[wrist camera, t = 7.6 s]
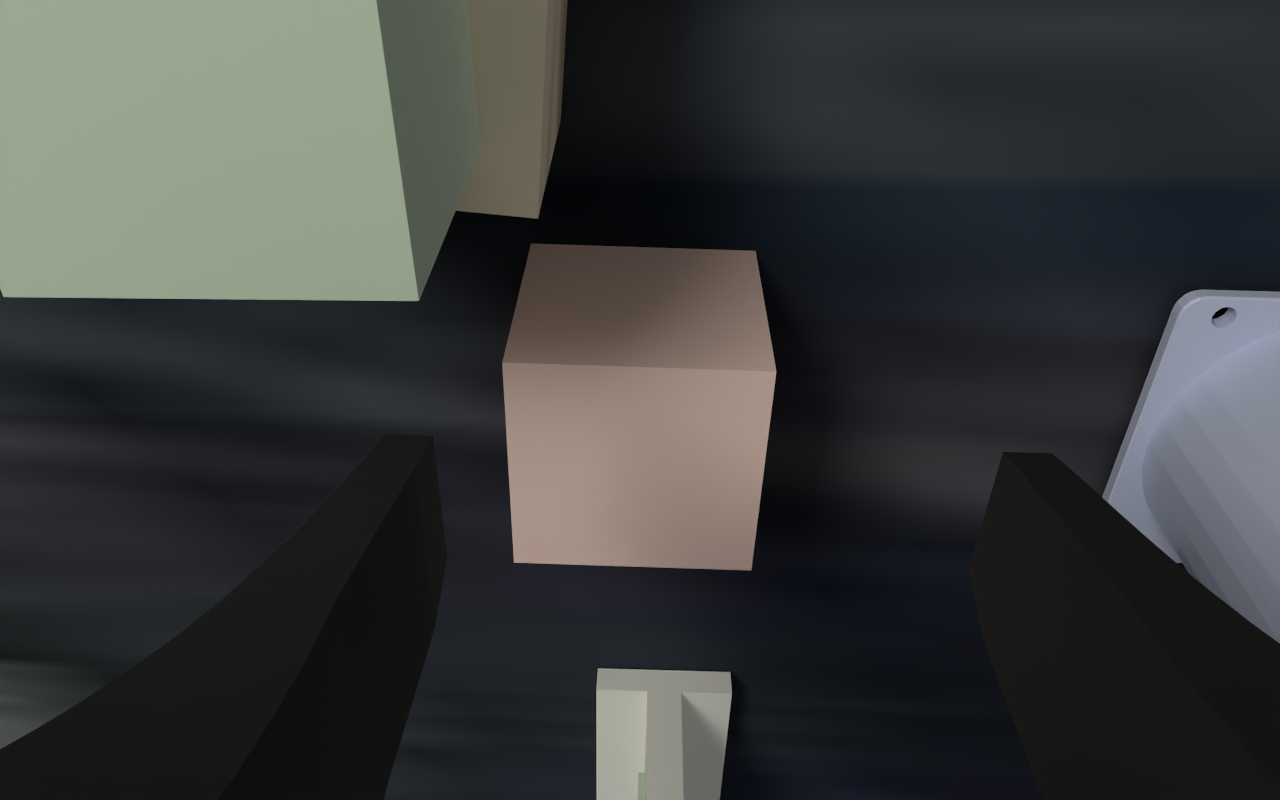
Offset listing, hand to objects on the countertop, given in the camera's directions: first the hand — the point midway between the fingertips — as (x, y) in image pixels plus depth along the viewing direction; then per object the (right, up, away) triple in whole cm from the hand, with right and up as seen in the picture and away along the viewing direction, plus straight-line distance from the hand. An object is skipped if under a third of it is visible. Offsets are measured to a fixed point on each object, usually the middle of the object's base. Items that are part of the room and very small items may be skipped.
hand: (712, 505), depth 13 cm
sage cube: (-6, +7, +2) cm, 10 cm away
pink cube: (-1, +3, +11) cm, 11 cm away
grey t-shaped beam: (0, -10, +19) cm, 22 cm away
